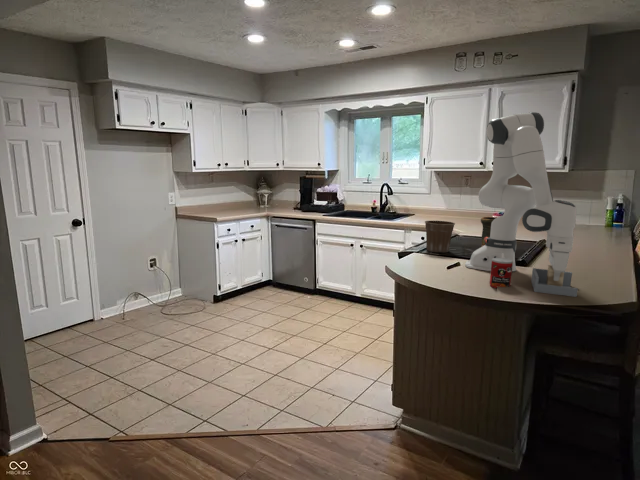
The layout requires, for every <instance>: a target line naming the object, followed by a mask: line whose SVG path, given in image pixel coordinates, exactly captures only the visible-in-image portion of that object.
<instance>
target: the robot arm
mask: <svg viewBox="0 0 640 480" xmlns="http://www.w3.org/2000/svg"><path fill="white" fill-rule="evenodd" d="M544 127H545V120H544V117H543V116H542V114H541V113H539V112H533V111H530V112H526V113H525V112H523V113H522V112H521V113H515V114H514V113H513V114H512V115H507V116H502V117H497V118H493V119H491V120H490V121H489V122H488V124H487V127H486V136H487V139H488V141H489V142H490V143H491V144H493V147H492V149H493V152H492V154H493V155H492V157H493V159H492V161H493V162H492V163H493V164H492V165H493V166H492V173H491V177H490V179H489V180H488V181H487V183H485V184H484V185H483V186H482V187H481V188H480V190H479V191H478V200H479V203H480V204H481V205H482V206H485V207H489V208H492V209H502V210H503V209H504V213H503V214H502V215H500V216H496V217H497V218H495V219H494V220H493V221H492V223H491V232H490V237H489V238H488V237H485V239H484V240H485V245H484V246H482V245H481V247H479V248H477V249H475V250H474V251H473V252H472V253H471V256H470V259H469V260H466V261H465V264H464V265H465V267H466V268H468V269H475V270H480V271H487V272H491V264H492V259H493V258H507V259H510V260H512V261H513V266H512V272H516V271H517V267H516V259H515V258H516V256H515V253H516V250H517V244H518V243H517V233H518V228H519V223H520V221H521V222H522V225H523V227H524V229H526V230H527V231H529V232H532V233H539V232H546V233H547V234H546V242H545V247H546V248H548V251H549V255H548V256H549V257H548V261H549V263H550V264H549V265H551V266H552V268H553V270H554V276H553V280H554V281H559V276H560V274H561V272H563V273H564V272H567V271H566V270H567V267H568V263H569V258H570V253H572V251H573V247H574V246H573V245H574V239H575V238H574V237H575V236H574V230H575V227H576V222H577V208H576V205H575V204H574V203H572V202H570V201H566V200H561V199H555V200H554V197H553V193H552V189H551V184H550V180H549V176H548V171H547V168H546V166H547V165H546V158H545V151H544V146H543V141H542V138H541V134H542V133H543V132H544V130H545V128H544ZM517 175H519V176H520V177H522V178H523V179H524V180H526V181H527V182H528V183H529V184H530V186H531V187H529V186H525V185H518V184H517V185H515V184H514V185H513V184H508V183H509V179H511V178H514V177H516V176H517Z"/></svg>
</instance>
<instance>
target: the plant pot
mask: <svg viewBox="0 0 640 480" xmlns="http://www.w3.org/2000/svg"><path fill="white" fill-rule="evenodd" d="M424 224H425V231H426V232H425V233H426V237H425V239H426V240H425V242H426V250H427V251H428V252H431V253H442V254H443V253H448V252H450V247H451V241H452V236H453V231H454V227H455V224H456V223H455V222H453V221H445V220H425V221H424Z"/></svg>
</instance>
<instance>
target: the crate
mask: <svg viewBox="0 0 640 480" xmlns="http://www.w3.org/2000/svg"><path fill="white" fill-rule="evenodd" d="M547 272H548V269H545V268H544V269H543V268H535V267H533V268H532V273H531V280H530V281H531V282H530V283H531V285H532V288H533V292H534V293H543V294H550V295H559V296H565V297H566V296H567V297H573V298H575V297H577V296H578V288H577V287H571V284H572V276H573V272H571V271H565V272H564V278H563V286H555V285H547V283H546V281H547Z"/></svg>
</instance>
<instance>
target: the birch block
mask: <svg viewBox="0 0 640 480" xmlns="http://www.w3.org/2000/svg"><path fill="white" fill-rule="evenodd" d="M547 266H548V267H547V270H548V272H547V281H546V283H547V285H555V286H563V278H564V273H563V272H561V274H560V276H559V281H554V280H553V276H554V270H553V268H552V266H551V264H549V265H547Z"/></svg>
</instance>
